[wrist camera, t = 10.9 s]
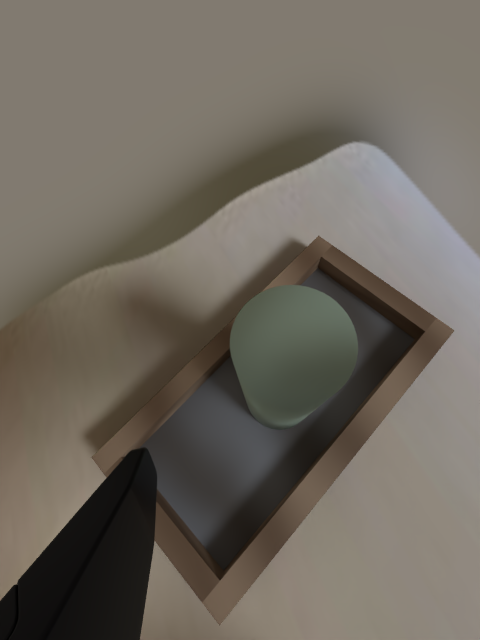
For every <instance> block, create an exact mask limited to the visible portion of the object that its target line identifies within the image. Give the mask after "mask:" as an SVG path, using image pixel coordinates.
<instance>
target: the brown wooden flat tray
mask: <svg viewBox="0 0 480 640" xmlns="http://www.w3.org/2000/svg"><path fill="white" fill-rule="evenodd" d="M283 285H300V286H306V287H310V288H313V289H316V290H318V291H320V292H323V293H325V294H326V295H328V296H330V297H331V298H332V299H334V300H335V301H336V302H337V303H338V304H339V305H340V306H341V307H342V308H343V309H344V310H345V312H346V313H347V314H348V316H349V318H350V319H351V321H352V323H353V325H354V328H355V331H356V335H357V340H358V355H357V361H356V365H355V368H354V370H353V372H352V375H351V376H350V378H349V379H348V381H347V382H346V383H345V385H344V386H343V387H342V388H341V389H340V390H339V391H338V392H336V393H335V394H334V395H333V396H332V397H330V398H329V399H328V400H327V401H325V402H324V403H323V404H322V405H321V406H319V407H318V408H317V409H316V410H314V411H313V412H312V413H311V414H310V415H308V416H307V417H306V418H305V419H303V420H302V421H301V422H300V423H298V424H297V425H295V426H294V427H291V428H289V429H284V430H275V429H271V428H268V427H265V426H263V425H262V424H260V423H259V422H258V421H257V420H256V419H255V418H254V417H253V416H252V414H251V412H250V410H249V408H248V405H247V402H246V399H245V396H244V393H243V390H242V387H241V385H240V382H239V379H238V376H237V373H236V370H235V367H234V364H233V361H232V357H231V352H230V335H231V330H232V326H233V323H234V321H235V318H236V317H235V318H234V319H233V320H232V321H231V322H230V323H229V324H228V325H227V326H226V327H225V328H224V329H223V330H222V331H221V332H219V333H218V334H217V335H216V336H215V337H214V338H213V339H212V340H211V341H210V342H209V343H208V344H207V345H206V346H205V347H204V348H203V349H202V350H201V351H200V352H199V353H198V354H197V355H196V356H195V357H194V358H193V359H192V360H191V361H190V362H189V363H188V364H187V365H186V366H185V367H184V368H183V369H182V370H181V371H179V372H178V373H177V374H176V375H175V376H174V377H173V378H172V379H171V380H170V381H169V382H168V383H167V384H166V385H165V386H164V387H163V388H162V389H161V390H160V391H159V392H158V393H157V394H156V395H155V396H154V397H153V398H152V399H151V400H150V401H149V402H148V403H147V404H146V405H145V406H144V407H143V408H142V409H141V410H139V411H138V412H137V413H136V414H135V415H134V416H133V417H132V418H131V419H130V420H129V421H128V422H127V423H126V424H125V425H124V426H123V427H122V428H121V429H120V430H119V431H118V432H117V433H116V434H115V435H114V436H113V437H112V438H111V439H110V440H109V441H108V442H107V443H106V444H105V445H104V446H103V447H102V448H101V449H100V450H98V451H97V452H96V453H95V454H94V455H93V456H92V459H93V460H94V461H95V463H96V464H97V465H98V467H99V468H100V469H101V471H102V472H103V473H104V474H105V476H106V477H108V476H109V475H110V473H111V472H112V471H113V470H114V469H115V468H116V466H117V465H118V464H119V463H120V462H121V461H122V459H123V458H124V457H125V456H126V455H127V454H128V453H129V452H130V451H131V450H133V449H138V448H143V447H145V448H147V449H148V450H149V452H150V455H151V458H152V460H153V463H154V465H155V468H156V471H157V498H156V520H155V538H154V540H155V541H156V543H157V544H158V545H159V547H160V548H161V549H162V551H163V552H164V553H165V554H166V556H167V557H168V558H169V560H170V561H171V562H172V564H173V565H174V566H175V568H176V569H177V570H178V571H179V573H180V574H181V575H182V577H183V578H184V579H185V581H186V582H187V583H188V585H189V586H190V587H191V589H192V590H193V591H194V592H195V594H196V595H197V596H198V598H199V599H200V600H201V602H202V603H203V604H204V606H205V607H206V608H207V610H208V611H209V612H210V613H211V615H212V616H213V617H214V619H215V620H216V621H217V623H218V624H219V625H220V624H221V623H222V622H223V621H224V619H225V618H226V617H227V616H228V614H229V613H230V612H231V611H232V609H233V608H234V607H235V606H236V604H237V603H238V602H239V600H240V599H241V598H242V597H243V595H244V594H245V593H246V592H247V590H248V589H249V588H250V587H251V585H252V584H253V583H254V582H255V580H256V579H257V578H258V577H259V575H260V574H261V573H262V572H263V570H264V569H265V568H266V567H267V565H268V564H269V563H270V562H271V560H272V559H273V558H274V557H275V555H276V554H277V553H278V551H279V550H280V549H281V548H282V546H283V545H284V544H285V543H286V541H287V540H288V539H289V538H290V536H291V535H292V534H293V533H294V531H295V530H296V529H297V528H298V526H299V525H300V524H301V523H302V521H303V520H304V519H305V518H306V516H307V515H308V514H309V513H310V511H311V510H312V509H313V508H314V506H315V505H316V504H317V502H318V501H319V500H320V499H321V497H322V496H323V495H324V494H325V492H326V491H327V490H328V489H329V487H330V486H331V485H332V484H333V482H334V481H335V480H336V479H337V477H338V476H339V475H340V474H341V472H342V471H343V470H344V469H345V467H346V466H347V465H348V464H349V462H350V461H351V460H352V459H353V457H354V456H355V455H356V453H357V452H358V451H359V450H360V448H361V447H362V446H363V445H364V443H365V442H366V441H367V440H368V438H369V437H370V436H371V435H372V433H373V432H374V431H375V430H376V428H377V427H378V426H379V425H380V423H381V422H382V421H383V420H384V418H385V417H386V416H387V415H388V413H389V412H390V411H391V410H392V408H393V407H394V406H395V404H396V403H397V402H398V401H399V399H400V398H401V397H402V396H403V394H404V393H405V392H406V391H407V389H408V388H409V387H410V386H411V384H412V383H413V382H414V381H415V379H416V378H417V377H418V376H419V374H420V373H421V372H422V371H423V369H424V368H425V367H426V366H427V364H428V363H429V362H430V361H431V359H432V358H433V357H434V355H435V354H436V353H437V352H438V350H439V349H440V348H441V347H442V345H443V344H444V343H445V342H446V340H447V339H448V338H449V337H450V335H451V334H452V333H453V332H454V330H453V329H451V328H450V327H449V326H447V325H446V324H444V323H443V322H441V321H440V320H439V319H437V318H436V317H434V316H433V315H431V314H430V313H429V312H427V311H426V310H424V309H423V308H421V307H420V306H419V305H417V304H416V303H414V302H413V301H411V300H410V299H408V298H407V297H406V296H404V295H403V294H401V293H400V292H398V291H397V290H396V289H394V288H393V287H391V286H390V285H388V284H387V283H386V282H384V281H383V280H381V279H380V278H378V277H377V276H376V275H374V274H373V273H371V272H370V271H368V270H367V269H366V268H364V267H363V266H361V265H360V264H358V263H357V262H356V261H354V260H353V259H351V258H350V257H348V256H347V255H345V254H344V253H343V252H341V251H340V250H338V249H337V248H335V247H334V246H333V245H331V244H330V243H328V242H327V241H325V240H324V239H323V238H321V237H320V236H318V237H317V238H316V239H315V240H314V241H313V242H312V243H311V244H310V245H309V246H308V247H307V248H306V249H305V250H304V251H303V252H302V253H300V254H299V255H298V256H297V257H296V258H295V259H294V260H293V261H292V262H291V263H290V264H289V265H288V266H287V267H286V268H285V269H284V270H283V271H282V272H281V273H280V274H279V275H278V276H277V277H276V278H275V279H274V280H273V281H272V282H271V283H270V284H269V285H268V286H267V287H266V288H265V289H264V290H263V291H265V290H267V289H270V288H273V287H277V286H283ZM263 291H262V292H263ZM260 293H261V292H260Z"/></svg>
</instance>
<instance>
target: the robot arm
mask: <svg viewBox="0 0 480 640" xmlns="http://www.w3.org/2000/svg"><path fill="white" fill-rule="evenodd" d="M156 498H157V471H156V468H155V465H154V463H153V460H152V458H151V455H150V452H149V450H148V449H147V448H145V447H143V448H138V449H133V450H131V451H130V452H129V453H128V454H127V455H126V456H125V457H124V458H123V459H122V461H121V462H120V463H119V464H118V465H117V466H116V468H115V469H114V470H113V471H112V472H111V473H110V475H109V476H108V477H107V478H106V479H105V480H104V482H103V483H102V484H101V485H100V486H99V487H98V488H97V490H96V491H95V492H94V493H93V494H92V495H91V497H90V498H89V499H88V500H87V501H86V502H85V504H84V505H83V506H82V507H81V508H80V509H79V510H78V512H77V513H76V514H75V515H74V516H73V517H72V519H71V520H70V521H69V522H68V523H67V524H66V526H65V527H64V528H63V529H62V530H61V531H60V533H59V534H58V535H57V536H56V537H55V538H54V539H53V541H52V542H51V543H50V544H49V545H48V546H47V548H46V549H45V550H44V551H43V552H42V553H41V555H40V556H39V557H38V558H37V559H36V560H35V561H34V563H33V564H32V565H31V566H30V567H29V568H28V570H27V571H26V572H25V573H24V574H23V575H22V577H21V578H20V579H19V580H18V583H17V584H16V585H14V586H13V587H12V588H11V589H10V590H9V591H8V593H7V594H6V595H5V596H4V597H3V598H2V600H1V601H0V640H140V634H141V628H142V621H143V614H144V608H145V601H146V594H147V588H148V581H149V574H150V568H151V561H152V554H153V547H154V538H155V520H156Z"/></svg>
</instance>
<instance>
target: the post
mask: <svg viewBox="0 0 480 640" xmlns="http://www.w3.org/2000/svg"><path fill="white" fill-rule="evenodd" d="M230 352H231V357H232V361H233V364H234V367H235V370H236V373H237V376H238V379H239V382H240V385H241V387H242V390H243V393H244V396H245V399H246V402H247V405H248V408H249V410H250V412H251V414H252V416H253V417H254V418H255V419H256V420H257V421H258V422H259V423H260V424H262V425H263V426H265V427H268V428H271V429H275V430H284V429H289V428H291V427H294V426H295V425H297V424H298V423H300V422H301V421H302V420H303V419H305V418H306V417H307V416H308V415H310V414H311V413H312V412H313V411H314V410H316V409H317V408H318V407H319V406H321V405H322V404H323V403H324V402H325V401H327V400H328V399H329V398H330V397H332V396H333V395H334V394H335V393H336V392H338V391H339V390H340V389H341V388H342V387H343V386H344V385H345V383H346V382H347V381H348V379H349V378H350V376H351V375H352V372H353V370H354V368H355V365H356V361H357V355H358V340H357V335H356V331H355V328H354V325H353V323H352V321H351V319H350V318H349V316H348V314H347V313H346V312H345V310H344V309H343V308H342V307H341V306H340V305H339V304H338V303H337V302H336V301H335V300H334V299H332V298H331V297H330V296H328V295H326V294H325V293H323V292H320V291H318V290H316V289H313V288H310V287H306V286H300V285H283V286H277V287H273V288H270V289H267V290H265V291H263V292H261V293H259V294H257V295H256V296H254V297H253V298H252V299H250V300H249V301H248V302H247V303H246V304H245V305H244V306H243V308H242V309H241V310H240V312H239V313H238V315H237V316H236V318H235V321H234V323H233V326H232V330H231V335H230Z"/></svg>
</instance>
